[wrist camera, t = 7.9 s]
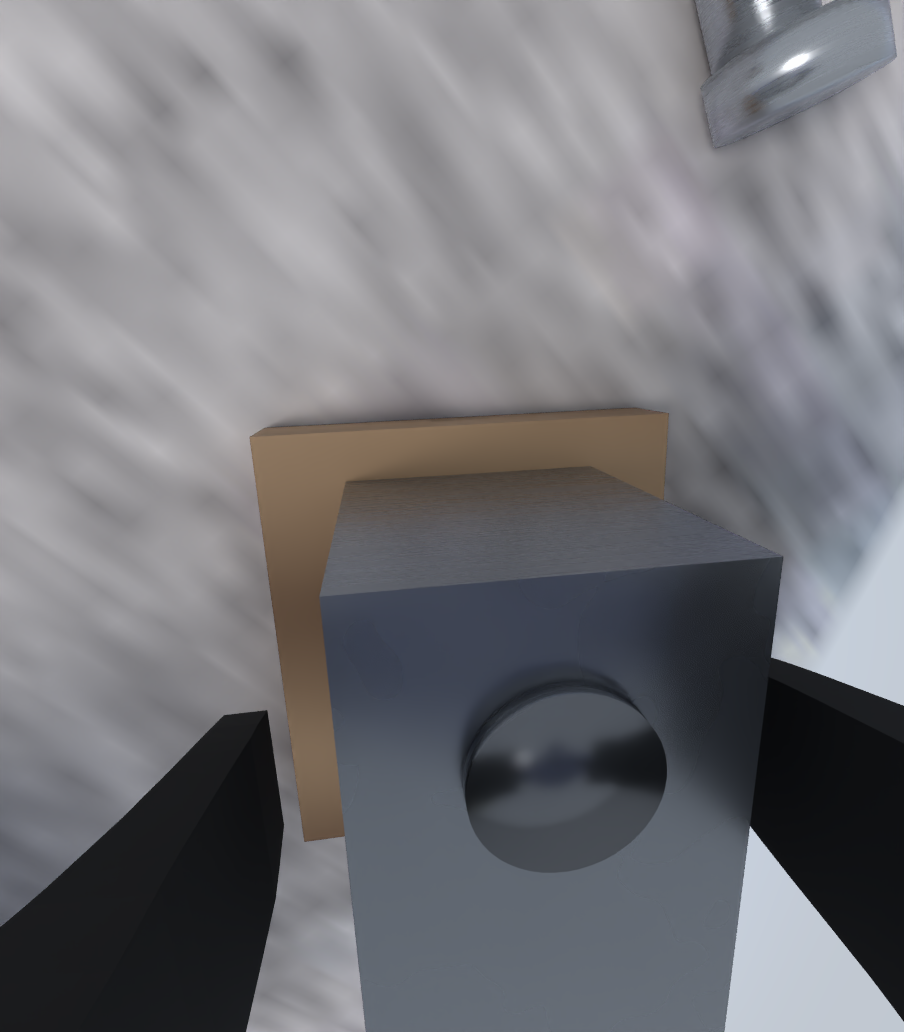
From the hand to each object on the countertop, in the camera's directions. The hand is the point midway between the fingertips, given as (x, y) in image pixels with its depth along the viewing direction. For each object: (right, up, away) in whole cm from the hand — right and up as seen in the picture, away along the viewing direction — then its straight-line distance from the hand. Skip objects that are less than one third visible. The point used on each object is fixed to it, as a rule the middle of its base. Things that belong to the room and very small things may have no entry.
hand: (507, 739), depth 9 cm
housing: (0, +1, +3) cm, 3 cm away
